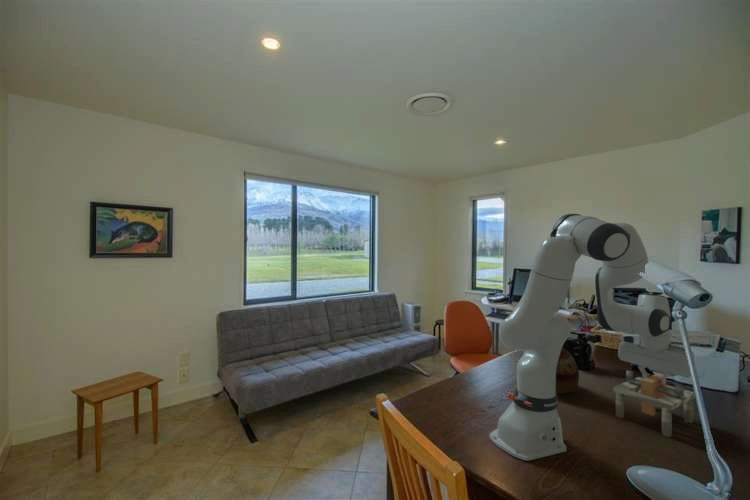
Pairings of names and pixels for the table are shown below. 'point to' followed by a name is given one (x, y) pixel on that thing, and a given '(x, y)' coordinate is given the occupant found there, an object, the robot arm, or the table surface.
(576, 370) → the ceramic pitcher
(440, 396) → the table surface
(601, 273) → the robot arm
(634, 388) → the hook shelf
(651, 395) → the wooden mini bench
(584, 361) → the movie camera
